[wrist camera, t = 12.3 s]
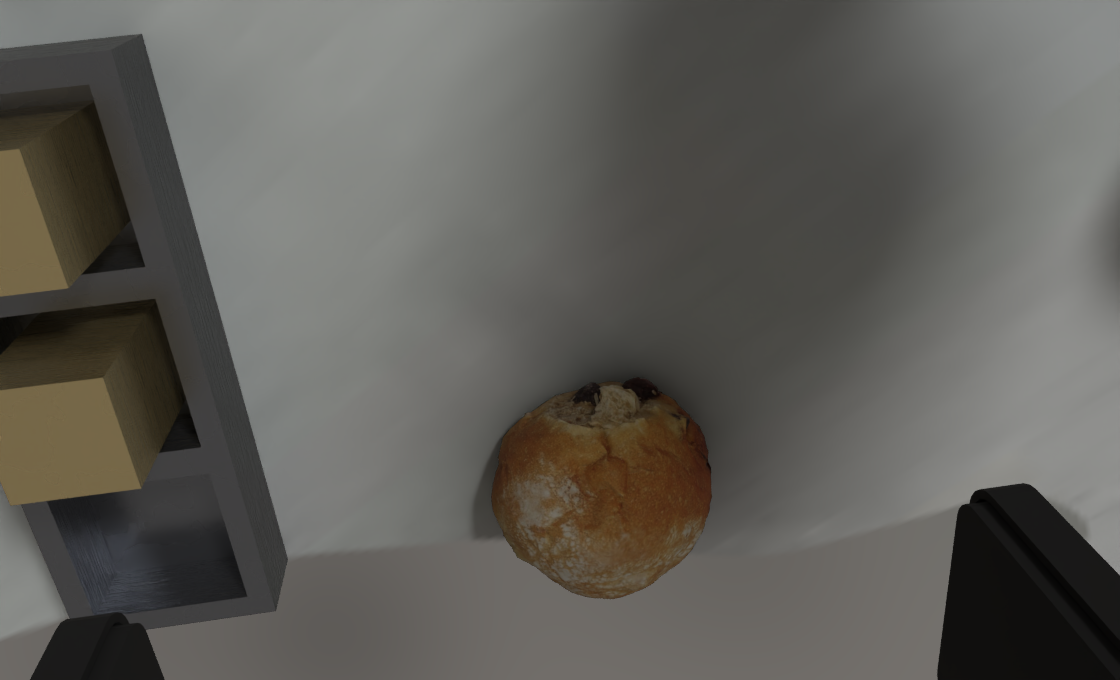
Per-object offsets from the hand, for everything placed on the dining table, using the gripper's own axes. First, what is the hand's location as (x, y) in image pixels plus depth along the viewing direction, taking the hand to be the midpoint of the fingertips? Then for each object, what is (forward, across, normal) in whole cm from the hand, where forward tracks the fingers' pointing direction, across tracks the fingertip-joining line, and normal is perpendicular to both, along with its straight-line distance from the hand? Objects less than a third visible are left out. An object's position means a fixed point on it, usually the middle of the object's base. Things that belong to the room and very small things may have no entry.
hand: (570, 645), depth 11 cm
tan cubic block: (+28, +16, +8) cm, 33 cm away
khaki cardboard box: (+28, +16, 0) cm, 32 cm away
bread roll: (+29, -3, +17) cm, 34 cm away
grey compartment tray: (+28, +16, +8) cm, 33 cm away
